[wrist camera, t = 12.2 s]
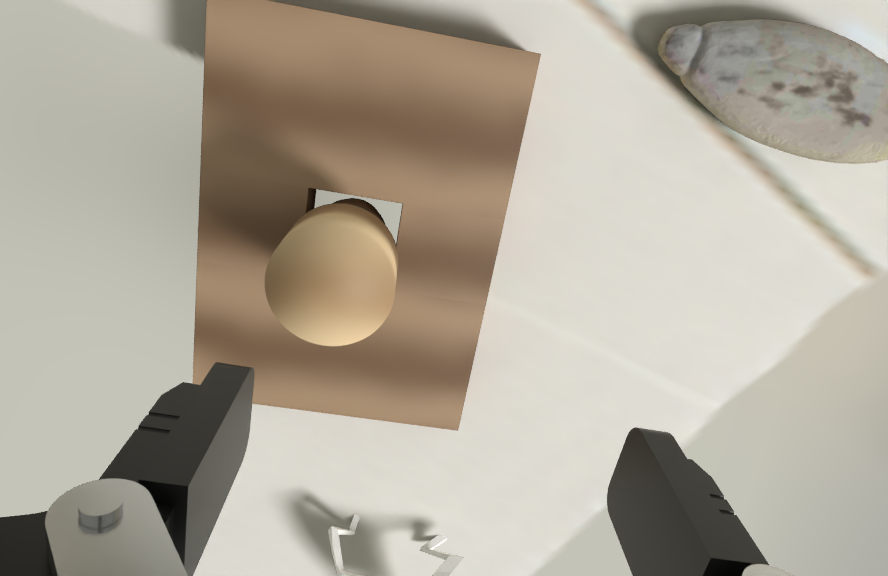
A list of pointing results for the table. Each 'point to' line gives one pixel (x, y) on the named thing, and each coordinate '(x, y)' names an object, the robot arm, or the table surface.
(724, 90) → the decorative stone
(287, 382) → the wooden board with hole
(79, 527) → the robot arm
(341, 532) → the origami figure
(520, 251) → the table surface
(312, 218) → the oak peg
